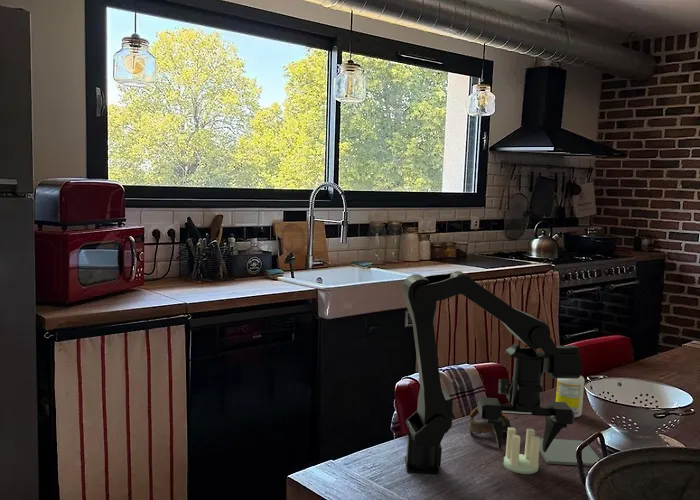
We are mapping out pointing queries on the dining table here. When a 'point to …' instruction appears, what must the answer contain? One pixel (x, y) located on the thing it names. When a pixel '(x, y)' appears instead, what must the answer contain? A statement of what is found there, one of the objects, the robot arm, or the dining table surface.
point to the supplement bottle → (571, 393)
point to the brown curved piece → (486, 424)
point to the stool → (520, 461)
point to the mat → (567, 453)
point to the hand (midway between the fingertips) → (521, 450)
